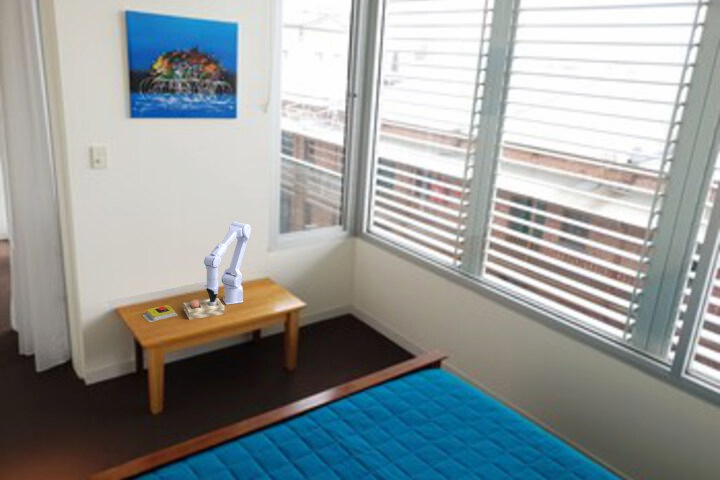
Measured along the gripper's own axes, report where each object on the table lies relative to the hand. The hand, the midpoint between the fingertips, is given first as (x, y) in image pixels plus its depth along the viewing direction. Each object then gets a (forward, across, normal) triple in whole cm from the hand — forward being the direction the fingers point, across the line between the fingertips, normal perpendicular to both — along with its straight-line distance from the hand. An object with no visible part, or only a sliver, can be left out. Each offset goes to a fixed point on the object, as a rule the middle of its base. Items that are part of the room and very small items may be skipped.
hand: (212, 301), depth 295 cm
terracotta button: (+2, 0, -9) cm, 9 cm away
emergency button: (+6, -4, -26) cm, 27 cm away
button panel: (+5, 0, -4) cm, 7 cm away
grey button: (+4, 0, 0) cm, 4 cm away
